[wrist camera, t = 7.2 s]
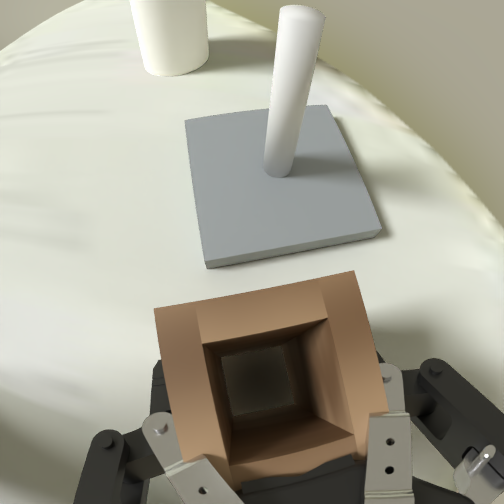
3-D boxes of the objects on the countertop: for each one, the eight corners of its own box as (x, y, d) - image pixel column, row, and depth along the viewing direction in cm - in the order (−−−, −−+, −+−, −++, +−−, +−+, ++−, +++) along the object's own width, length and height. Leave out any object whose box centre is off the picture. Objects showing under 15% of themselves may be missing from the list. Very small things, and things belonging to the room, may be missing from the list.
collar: (317, 416, 17) (396, 454, 7) (217, 438, 16) (196, 506, 7) (296, 321, 19) (353, 270, 9) (196, 341, 18) (153, 308, 9)
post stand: (374, 237, 22) (481, 106, 9) (206, 269, 20) (163, 114, 8) (323, 116, 26) (360, -17, 13) (186, 132, 25) (163, -16, 12)
